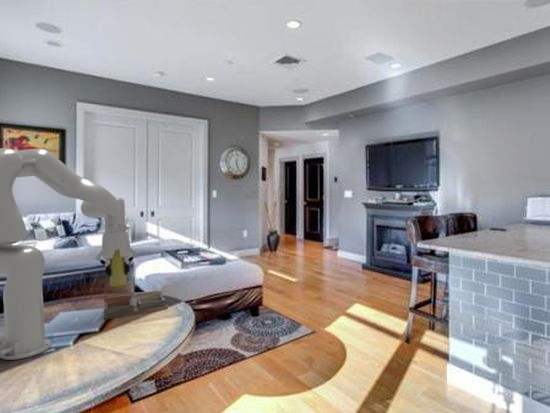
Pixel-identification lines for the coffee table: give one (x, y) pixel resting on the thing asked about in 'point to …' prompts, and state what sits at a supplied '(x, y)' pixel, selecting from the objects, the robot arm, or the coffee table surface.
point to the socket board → (125, 306)
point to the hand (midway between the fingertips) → (117, 274)
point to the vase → (117, 270)
